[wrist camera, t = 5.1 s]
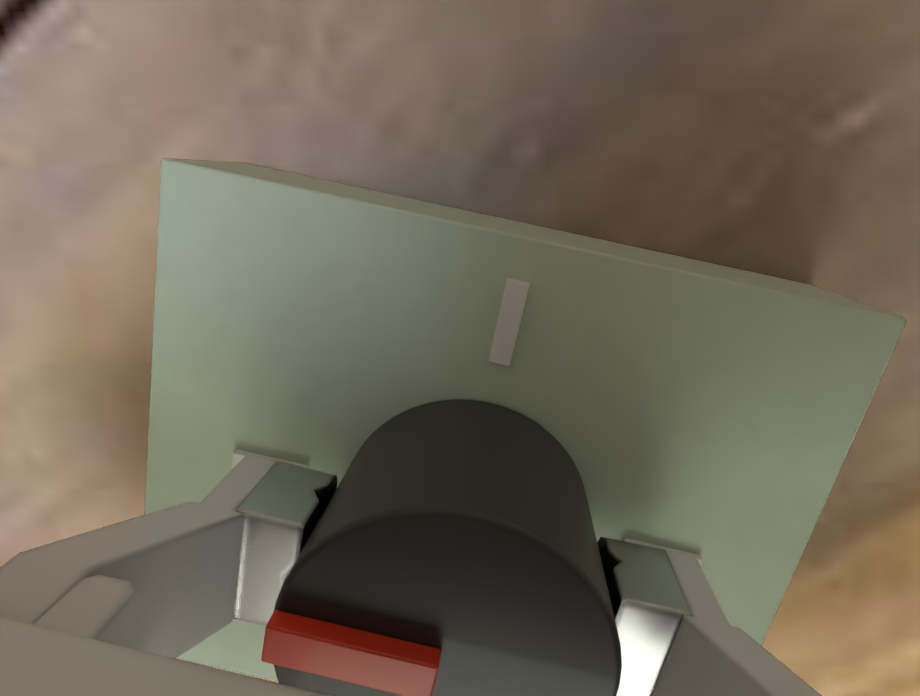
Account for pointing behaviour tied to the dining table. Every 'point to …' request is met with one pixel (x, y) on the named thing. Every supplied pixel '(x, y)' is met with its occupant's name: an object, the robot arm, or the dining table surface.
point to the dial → (451, 568)
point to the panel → (501, 365)
